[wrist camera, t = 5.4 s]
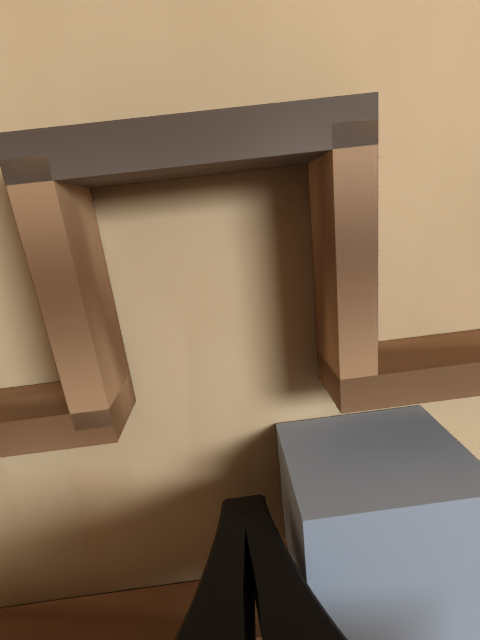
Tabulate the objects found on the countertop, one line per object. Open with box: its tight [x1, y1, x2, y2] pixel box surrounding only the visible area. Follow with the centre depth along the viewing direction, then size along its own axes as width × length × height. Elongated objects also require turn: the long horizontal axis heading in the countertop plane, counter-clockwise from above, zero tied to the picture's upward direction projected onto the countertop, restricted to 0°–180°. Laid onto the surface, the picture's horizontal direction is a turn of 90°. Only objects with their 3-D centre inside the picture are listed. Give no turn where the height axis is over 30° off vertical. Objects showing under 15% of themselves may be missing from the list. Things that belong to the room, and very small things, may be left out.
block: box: [276, 405, 480, 640], centre depth 11 cm, size 5×5×4 cm
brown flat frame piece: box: [0, 92, 480, 640], centre depth 12 cm, size 23×26×2 cm
